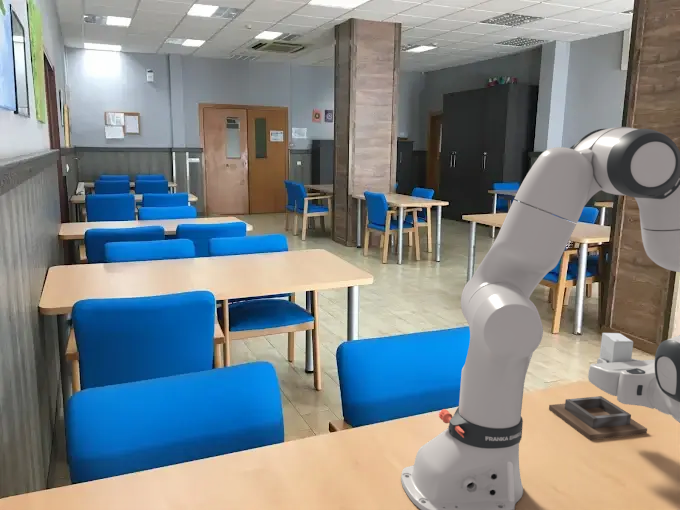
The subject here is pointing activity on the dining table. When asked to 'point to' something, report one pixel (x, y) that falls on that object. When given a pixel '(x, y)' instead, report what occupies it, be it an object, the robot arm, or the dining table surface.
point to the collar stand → (597, 418)
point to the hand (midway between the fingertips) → (611, 360)
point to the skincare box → (616, 347)
